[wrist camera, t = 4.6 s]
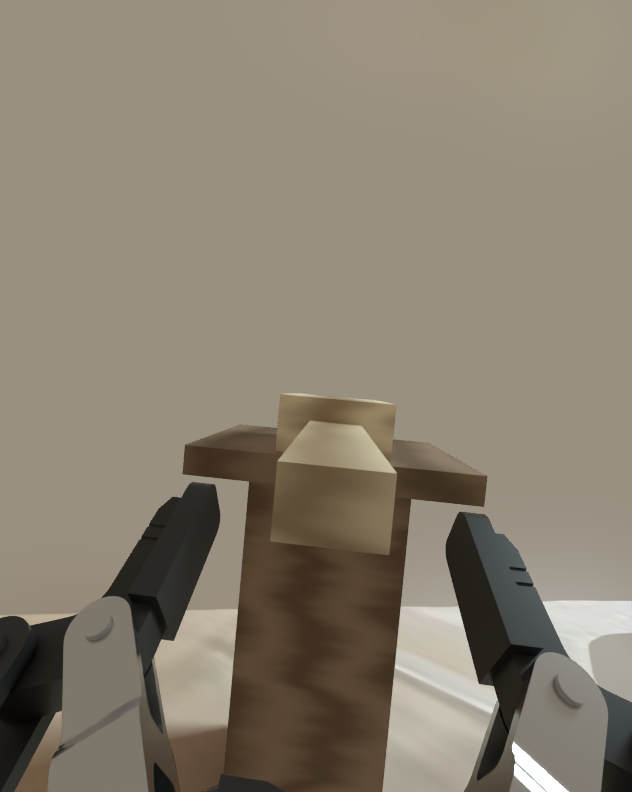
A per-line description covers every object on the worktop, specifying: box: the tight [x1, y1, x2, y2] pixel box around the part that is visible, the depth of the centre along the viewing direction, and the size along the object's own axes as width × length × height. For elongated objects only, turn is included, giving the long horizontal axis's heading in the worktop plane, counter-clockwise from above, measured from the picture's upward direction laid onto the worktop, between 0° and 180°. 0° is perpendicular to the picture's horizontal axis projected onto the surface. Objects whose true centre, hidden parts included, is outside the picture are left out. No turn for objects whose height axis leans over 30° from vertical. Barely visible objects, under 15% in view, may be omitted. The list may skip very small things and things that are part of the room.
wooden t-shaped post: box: [183, 425, 487, 792], centre depth 28 cm, size 20×13×32 cm, turn 87°
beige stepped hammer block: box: [270, 393, 397, 555], centre depth 20 cm, size 8×21×4 cm, turn 177°
